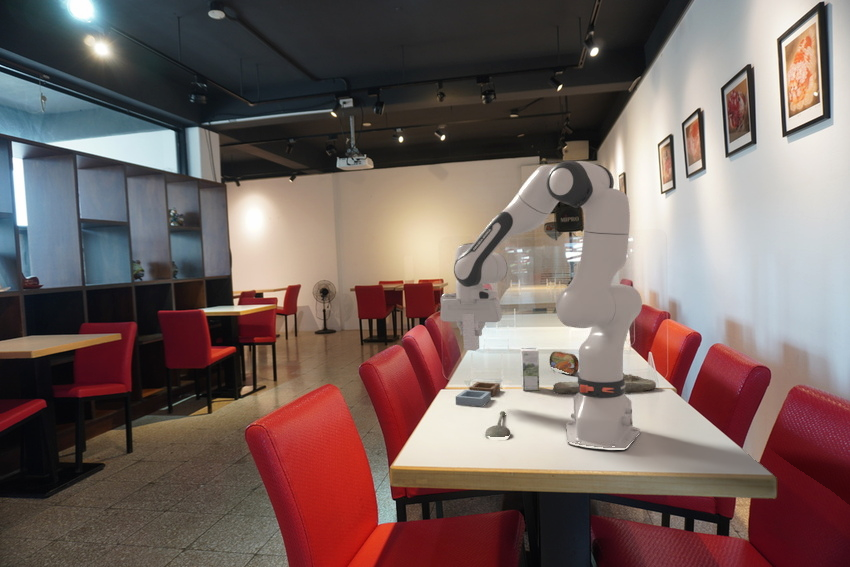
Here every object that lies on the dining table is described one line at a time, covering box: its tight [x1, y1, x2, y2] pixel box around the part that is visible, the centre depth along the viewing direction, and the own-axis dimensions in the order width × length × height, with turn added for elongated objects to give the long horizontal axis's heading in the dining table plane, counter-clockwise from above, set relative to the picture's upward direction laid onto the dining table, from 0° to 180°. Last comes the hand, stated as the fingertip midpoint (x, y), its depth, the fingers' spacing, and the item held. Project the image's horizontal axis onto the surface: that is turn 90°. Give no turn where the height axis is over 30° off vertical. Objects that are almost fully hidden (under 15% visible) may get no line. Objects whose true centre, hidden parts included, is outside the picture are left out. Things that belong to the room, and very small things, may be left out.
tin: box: [549, 351, 579, 376], centre depth 207 cm, size 15×3×8 cm, turn 25°
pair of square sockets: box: [455, 381, 501, 407], centre depth 176 cm, size 21×9×2 cm, turn 155°
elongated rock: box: [552, 372, 657, 395], centre depth 179 cm, size 35×5×10 cm
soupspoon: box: [485, 411, 511, 437], centre depth 145 cm, size 22×3×7 cm
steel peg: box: [462, 313, 480, 352], centre depth 170 cm, size 4×4×12 cm
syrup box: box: [520, 347, 540, 392], centre depth 184 cm, size 6×6×14 cm
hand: (471, 335), depth 170 cm, fingers closed on steel peg, 4 cm apart
